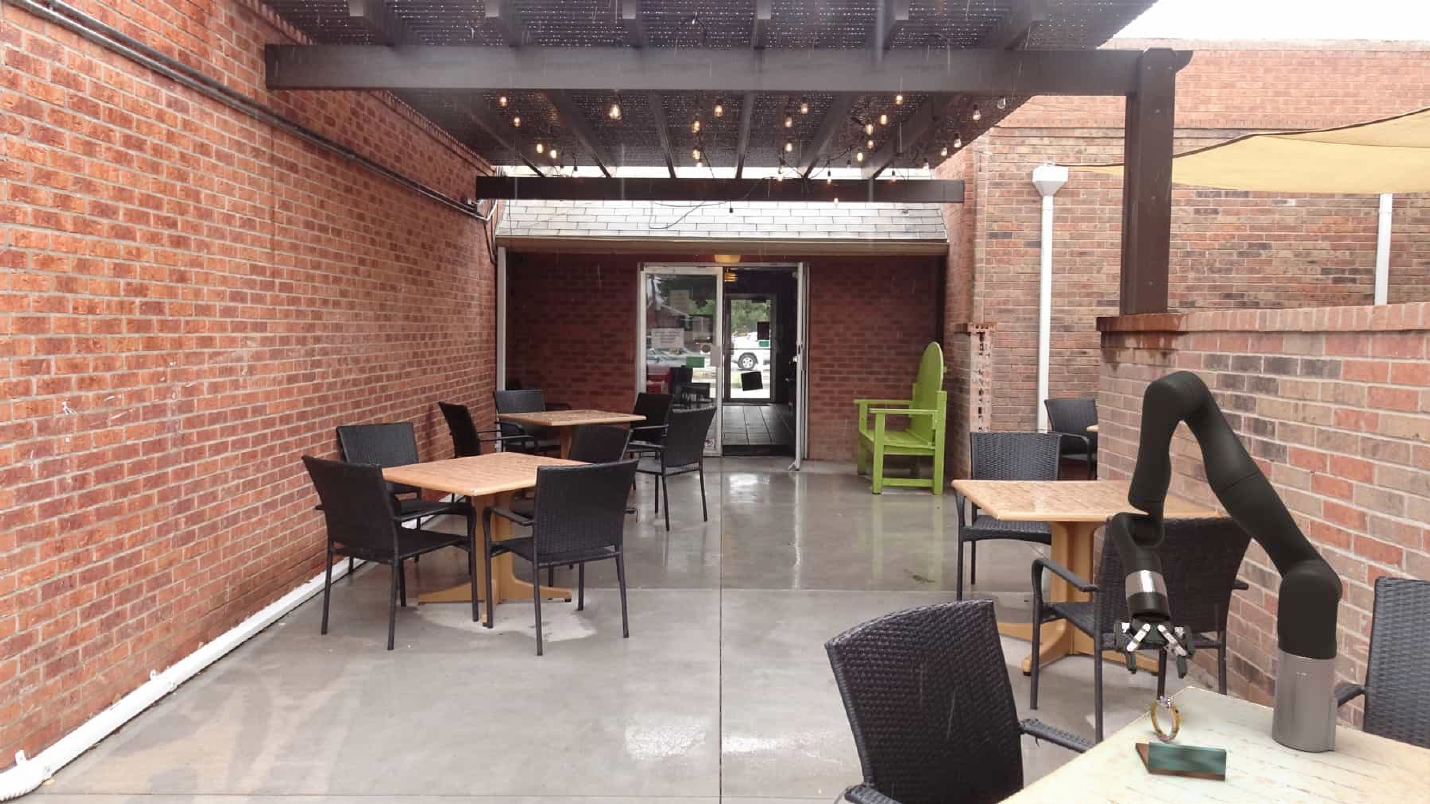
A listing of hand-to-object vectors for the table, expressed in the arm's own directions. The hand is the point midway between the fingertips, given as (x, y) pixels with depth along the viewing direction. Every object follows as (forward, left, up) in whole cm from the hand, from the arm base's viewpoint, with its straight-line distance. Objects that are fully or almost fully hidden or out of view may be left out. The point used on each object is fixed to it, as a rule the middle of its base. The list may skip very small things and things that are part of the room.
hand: (1158, 674), depth 182 cm
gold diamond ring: (0, +6, -10) cm, 12 cm away
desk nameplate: (0, +16, -10) cm, 19 cm away
